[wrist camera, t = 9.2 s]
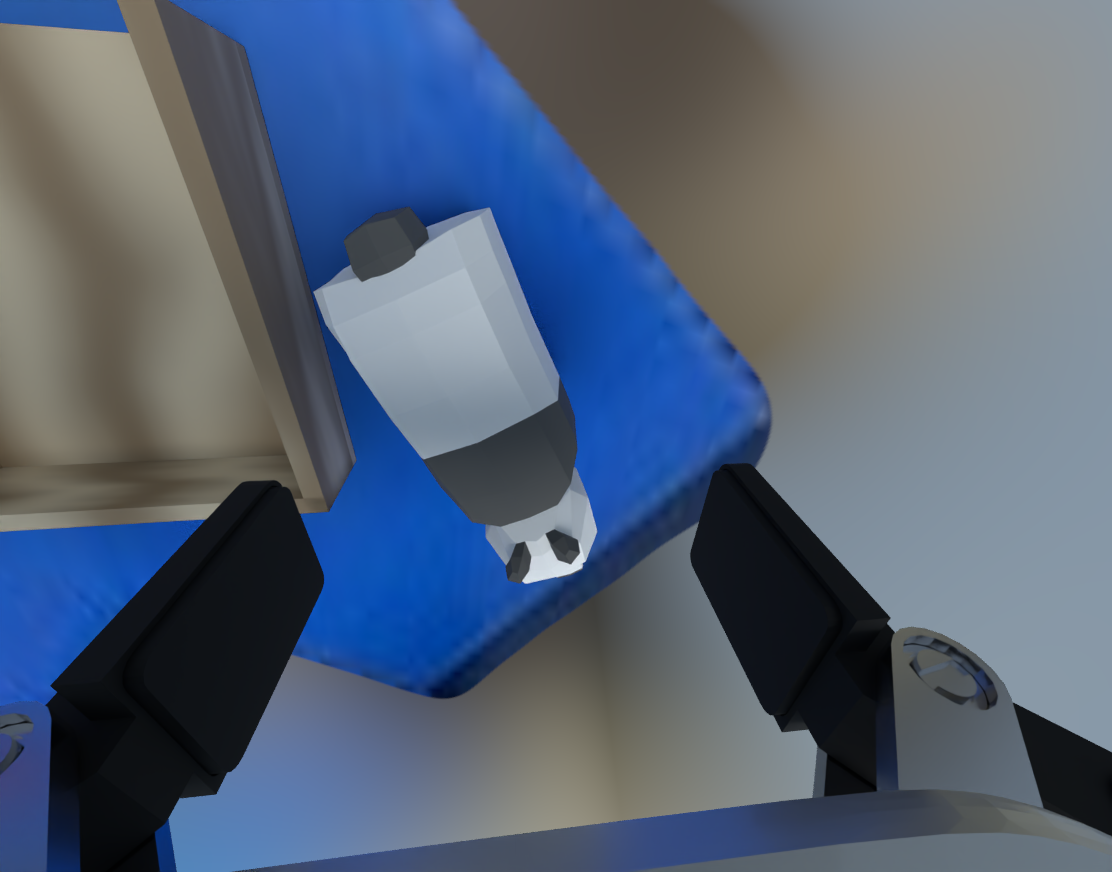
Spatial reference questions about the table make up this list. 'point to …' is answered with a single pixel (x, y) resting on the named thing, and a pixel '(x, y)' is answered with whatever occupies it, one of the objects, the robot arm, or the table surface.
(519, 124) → the table surface
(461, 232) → the giant panda
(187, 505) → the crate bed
